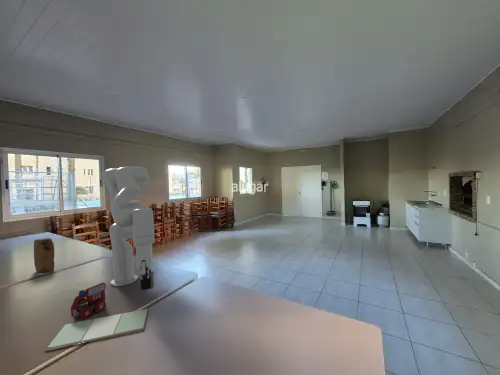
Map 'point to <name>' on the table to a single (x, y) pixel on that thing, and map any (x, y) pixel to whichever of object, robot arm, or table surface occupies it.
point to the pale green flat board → (101, 328)
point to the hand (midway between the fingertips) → (146, 285)
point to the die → (152, 282)
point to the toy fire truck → (89, 301)
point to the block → (44, 255)
